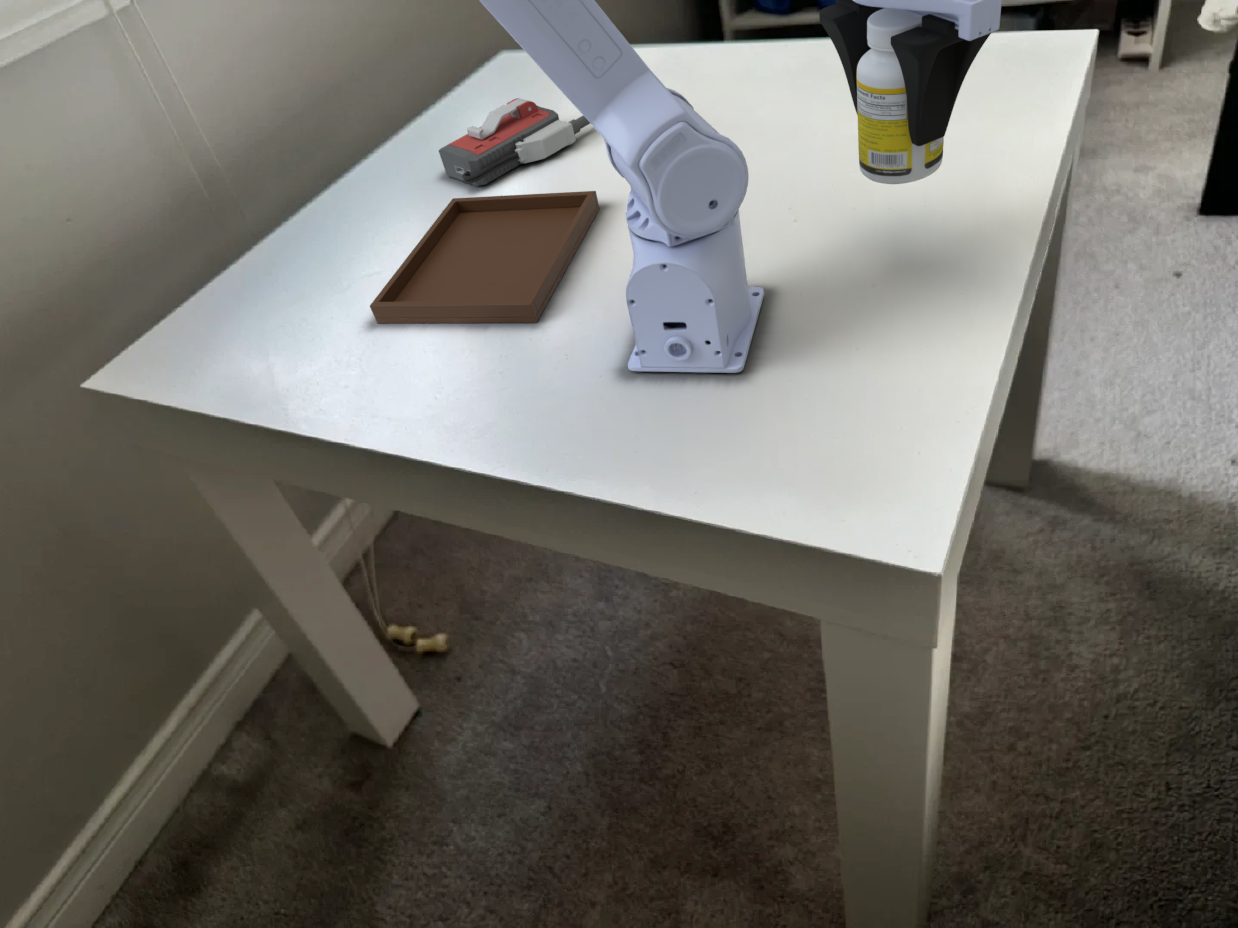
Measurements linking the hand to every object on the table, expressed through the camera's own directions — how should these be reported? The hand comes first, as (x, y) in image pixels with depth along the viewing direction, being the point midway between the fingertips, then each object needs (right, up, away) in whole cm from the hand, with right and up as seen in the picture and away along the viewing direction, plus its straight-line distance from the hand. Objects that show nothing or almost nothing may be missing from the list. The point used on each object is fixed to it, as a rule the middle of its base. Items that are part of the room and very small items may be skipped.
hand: (899, 125), depth 59 cm
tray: (-29, -5, +18) cm, 34 cm away
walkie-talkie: (-27, +10, +34) cm, 44 cm away
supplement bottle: (+1, -2, +2) cm, 3 cm away
